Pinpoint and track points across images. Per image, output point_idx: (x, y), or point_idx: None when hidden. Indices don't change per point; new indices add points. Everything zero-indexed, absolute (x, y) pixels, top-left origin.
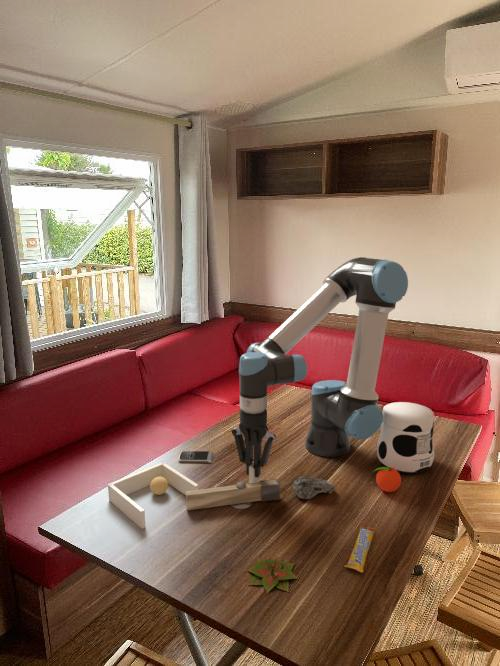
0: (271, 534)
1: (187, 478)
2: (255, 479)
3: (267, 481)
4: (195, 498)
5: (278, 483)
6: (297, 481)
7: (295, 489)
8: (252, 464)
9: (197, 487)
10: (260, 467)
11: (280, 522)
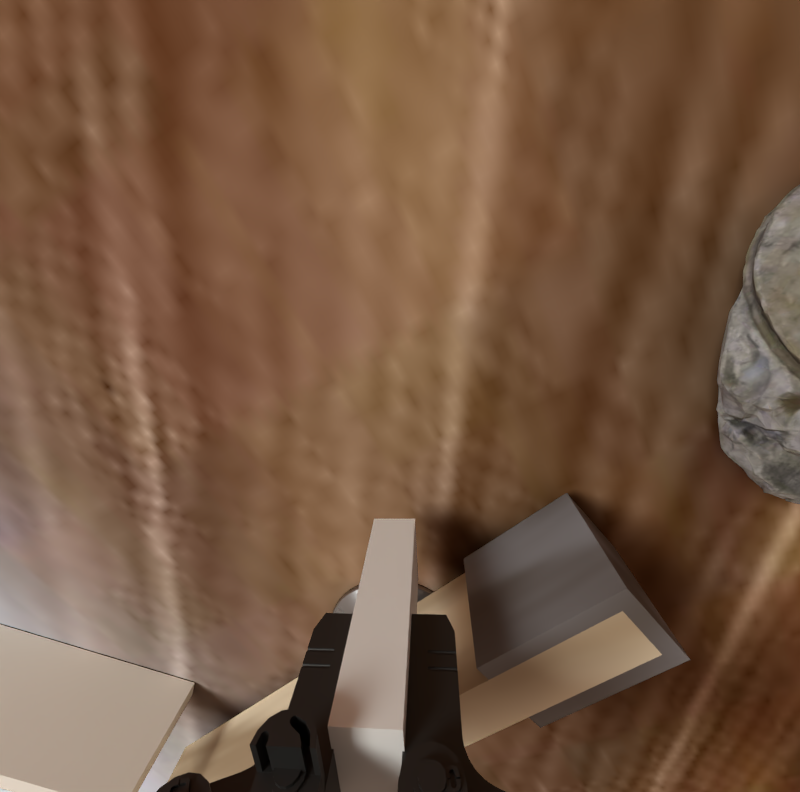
0: (651, 762)
1: (9, 780)
2: (414, 608)
3: (555, 655)
4: None
5: (673, 648)
6: (796, 407)
7: (765, 487)
8: (349, 764)
9: (133, 789)
10: (460, 724)
11: (671, 688)
